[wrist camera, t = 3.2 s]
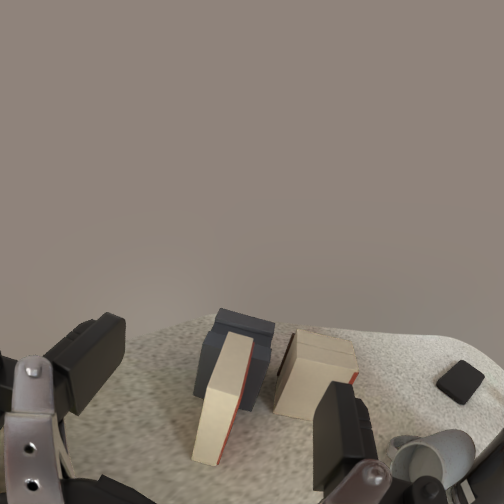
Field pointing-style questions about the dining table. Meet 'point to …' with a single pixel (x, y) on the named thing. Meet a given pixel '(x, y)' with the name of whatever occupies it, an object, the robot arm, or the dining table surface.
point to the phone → (461, 381)
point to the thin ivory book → (222, 398)
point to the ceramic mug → (432, 456)
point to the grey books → (259, 360)
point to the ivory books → (311, 372)
